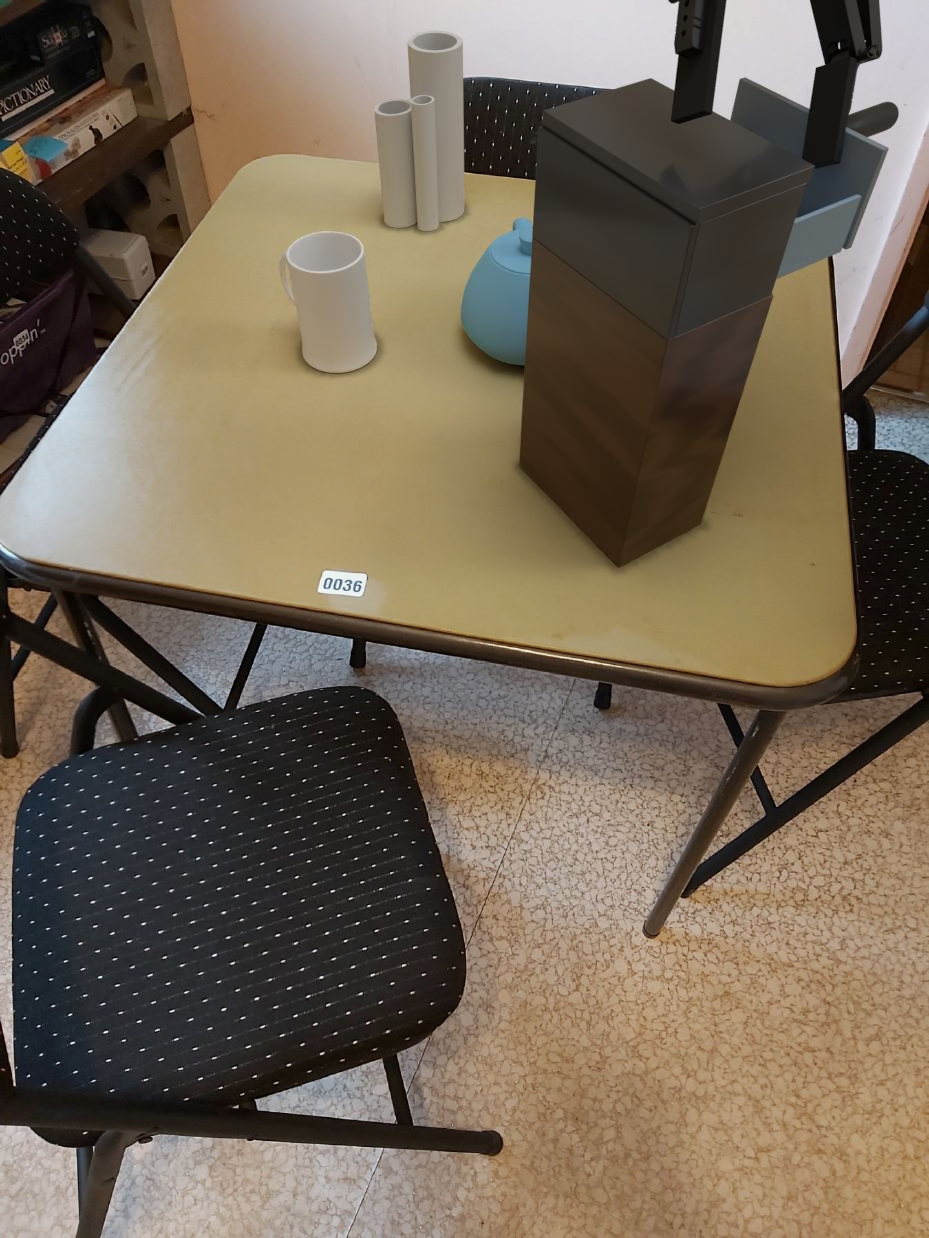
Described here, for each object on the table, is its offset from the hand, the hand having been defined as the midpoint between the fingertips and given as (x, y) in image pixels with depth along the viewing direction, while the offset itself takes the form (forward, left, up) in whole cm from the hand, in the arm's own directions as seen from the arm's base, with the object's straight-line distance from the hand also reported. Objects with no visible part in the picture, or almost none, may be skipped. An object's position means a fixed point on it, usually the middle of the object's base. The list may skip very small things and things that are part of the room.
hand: (759, 145), depth 56 cm
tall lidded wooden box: (0, +6, -32) cm, 33 cm away
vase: (+55, +18, -32) cm, 67 cm away
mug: (+28, +32, -32) cm, 54 cm away
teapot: (+26, +7, -32) cm, 42 cm away
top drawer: (+6, -7, -8) cm, 12 cm away
